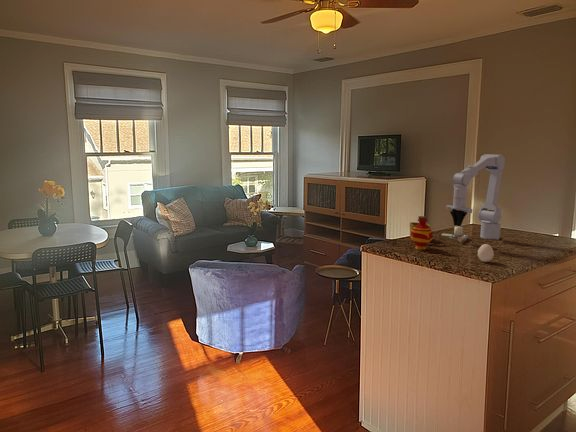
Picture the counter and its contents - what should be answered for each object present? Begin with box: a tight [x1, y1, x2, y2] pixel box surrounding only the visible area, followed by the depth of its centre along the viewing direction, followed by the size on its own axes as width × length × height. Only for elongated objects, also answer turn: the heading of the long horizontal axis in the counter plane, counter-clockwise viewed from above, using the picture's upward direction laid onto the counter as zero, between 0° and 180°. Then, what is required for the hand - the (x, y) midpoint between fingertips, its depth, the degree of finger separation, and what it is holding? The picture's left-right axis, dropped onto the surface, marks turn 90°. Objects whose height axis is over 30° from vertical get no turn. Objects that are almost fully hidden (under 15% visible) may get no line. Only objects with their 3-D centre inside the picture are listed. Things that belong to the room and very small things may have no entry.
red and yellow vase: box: [409, 215, 434, 250], centre depth 210 cm, size 10×10×15 cm
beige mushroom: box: [451, 225, 464, 239], centre depth 232 cm, size 6×6×6 cm
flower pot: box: [409, 221, 431, 234], centre depth 226 cm, size 9×9×9 cm
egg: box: [477, 243, 494, 263], centre depth 188 cm, size 6×6×8 cm
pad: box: [441, 233, 454, 237], centre depth 239 cm, size 5×5×1 cm
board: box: [448, 236, 468, 241], centre depth 231 cm, size 14×20×2 cm
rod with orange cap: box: [456, 234, 469, 242], centre depth 223 cm, size 14×2×2 cm, turn 145°
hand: (457, 225), depth 220 cm, fingers closed
